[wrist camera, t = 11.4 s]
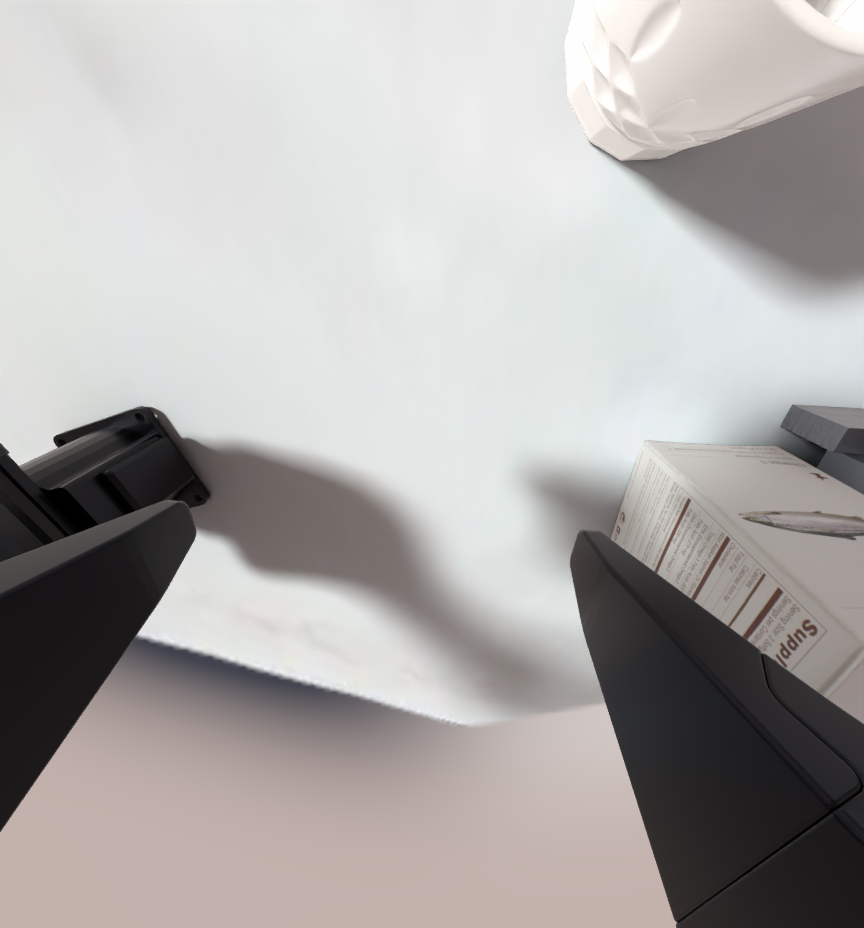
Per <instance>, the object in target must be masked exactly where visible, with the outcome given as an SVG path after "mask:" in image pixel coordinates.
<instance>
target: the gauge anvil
mask: <svg viewBox="0 0 864 928" xmlns="http://www.w3.org/2000/svg"><path fill="white" fill-rule="evenodd" d="M781 427H782V428H784V429H786V430H788V431H791V432H793V433H795V434H797V435H799V436H801V437H803V438H805V439H807V440H809V441H811V442H813V443H815V444H817V445H819V446H821V447H823V448H825V449H827V450H829V451H831V452H836V453H854V454H864V409H860V408H841V407H822V406H804V405H792V407H791V408H790V410H789V412H788V414H787V416H786V418H785V420H784V421H783V423H782V425H781Z"/></svg>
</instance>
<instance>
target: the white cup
mask: <svg viewBox="0 0 864 928" xmlns="http://www.w3.org/2000/svg"><path fill="white" fill-rule="evenodd" d="M564 46H565V62H566V78H567V94H568V102H569V104H570V106H571V108H572V110H573V112H574V114H575V116H576V118H577V120H578V122H579V124H580V126H581V128H582V129H583V131H584V133H585V135H586V137H587V139H588V141H589V142H591V143H593V144H594V145H596V146H598V147H599V148H601V149H603V150H604V151H606V152H607V153H609V154H611V155H612V156H614V157H616V158H617V159H619V160H621V161H627V160H647V159H662V158H665V157H667V156H670V155H672V154H675V153H677V152H679V151H682V150H684V149H686V148H691V147H695V146H699V145H703V144H707V143H710V142H714V141H717V140H720V139H722V138H725V137H727V136H730V135H733V134H735V133H738V132H741V131H744V130H748V129H751V128H754V127H757V126H760V125H763V124H766V123H768V122H771V121H773V120H776V119H779V118H781V117H784V116H786V115H789V114H792V113H794V112H797V111H799V110H802V109H805V108H807V107H810V106H812V105H815V104H818V103H820V102H823V101H825V100H828V99H831V98H833V97H836V96H838V95H841V94H844V93H846V92H849V91H851V90H854V89H857V88H859V87H862V86H864V0H576V2H575V5H574V9H573V13H572V17H571V21H570V25H569V29H568V32H567V36H566V40H565V45H564Z"/></svg>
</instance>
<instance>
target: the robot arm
mask: <svg viewBox="0 0 864 928" xmlns="http://www.w3.org/2000/svg"><path fill="white" fill-rule="evenodd" d="M140 414H142V415H143V417H144V418H143V417H142V416H141V415H140ZM53 440H54V443H55V444H56V446H57V447H58V448H57V449H55V450H53V451H50V452H48V453H46V454H44V455H42V456H40V457H38V458H35V459H33V460H31V461H29V462H27V463H25V464H22V465H20V466H18V465H17V464H16V463H15V462H14V461H13V460H12V459H11V458H10V456H9V455H8V453H9V452H8V450H7V449H6V448H5V447H4V446H3V445H2V444H1V443H0V832H1V830H2V829H3V827H4V826H5V825H6V823H7V822H8V820H9V819H10V817H11V816H12V814H13V813H14V811H15V810H16V808H17V807H18V806H19V804H20V803H21V801H22V800H23V799H24V797H25V796H26V794H27V793H28V791H29V790H30V788H31V787H32V786H33V784H34V782H35V781H36V780H37V778H38V777H39V775H40V774H41V772H42V771H43V770H44V768H45V767H46V765H47V764H48V762H49V761H50V759H51V758H52V757H53V755H54V754H55V752H56V751H57V749H58V748H59V746H60V745H61V744H62V742H63V741H64V739H65V738H66V736H67V735H68V733H69V732H70V730H71V729H72V728H73V726H74V725H75V723H76V722H77V720H78V719H79V717H80V716H81V715H82V713H83V712H84V710H85V709H86V707H87V706H88V705H89V703H90V701H91V700H92V699H93V697H94V696H95V694H96V693H97V692H98V690H99V689H100V687H101V686H102V684H103V683H104V681H105V680H106V678H107V677H108V676H109V674H110V673H111V671H112V670H113V668H114V667H115V665H116V664H117V663H118V661H119V660H120V658H121V657H122V655H123V654H124V652H125V651H126V650H127V648H128V647H129V645H130V644H131V642H132V641H133V639H134V638H135V637H136V635H137V634H138V632H139V631H140V629H141V628H142V626H143V625H144V624H145V622H146V621H147V619H148V618H149V616H150V615H151V613H152V612H153V611H154V609H155V608H156V606H157V605H158V603H159V602H160V600H161V598H162V597H163V595H164V593H165V592H166V590H167V588H168V587H169V585H170V583H171V581H172V579H173V578H174V576H175V574H176V572H177V570H178V569H179V567H180V565H181V563H182V561H183V560H184V558H185V556H186V554H187V553H188V551H189V549H190V547H191V545H192V544H193V542H194V540H195V537H196V528H195V525H194V522H193V519H192V516H191V513H190V510H189V508H191V507H195V506H199V505H203V504H205V503H206V502H207V501H208V500H209V499H210V494H209V492H208V490H207V489H206V488H205V486H204V485H203V483H202V482H201V481H200V479H199V478H198V476H197V475H196V474H195V472H194V471H193V469H192V468H191V467H190V465H189V464H188V462H187V461H186V459H185V458H184V457H183V455H182V454H181V452H180V451H179V450H178V448H177V447H176V445H175V444H174V443H173V441H172V440H171V438H170V437H169V436H168V434H167V433H166V431H165V430H164V428H163V427H162V426H161V424H160V423H159V421H158V420H157V419H156V417H155V416H154V414H153V413H152V412H151V411H150V410H149V409H148V408H146V407H143V406H140V407H136V408H133V409H131V410H128V411H125V412H122V413H119V414H116V415H113V416H110V417H107V418H104V419H101V420H98V421H95V422H92V423H89V424H87V425H84V426H81V427H78V428H75V429H72V430H69V431H66V432H63V433H61V434H58V435H56V436H55V437H54V439H53ZM199 495H200V496H201V497H200V496H199ZM570 567H571V573H572V578H573V583H574V588H575V593H576V598H577V603H578V608H579V613H580V619H581V623H582V628H583V632H584V635H585V639H586V642H587V645H588V649H589V652H590V655H591V658H592V661H593V664H594V667H595V671H596V674H597V677H598V680H599V683H600V686H601V690H602V693H603V696H604V699H605V702H606V705H607V709H608V712H609V715H610V718H611V721H612V724H613V727H614V731H615V734H616V737H617V740H618V743H619V746H620V750H621V752H622V756H623V759H624V762H625V765H626V769H627V771H628V775H629V778H630V781H631V784H632V788H633V791H634V794H635V797H636V800H637V803H638V807H639V810H640V813H641V816H642V819H643V822H644V825H645V829H646V832H647V835H648V838H649V841H650V844H651V848H652V851H653V854H654V857H655V860H656V863H657V866H658V869H659V873H660V876H661V879H662V882H663V886H664V888H665V892H666V895H667V898H668V901H669V904H670V908H671V911H672V914H673V917H674V919H675V921H676V922H677V924H676V928H864V724H863V723H862V722H860V721H859V720H858V719H856V718H855V717H853V716H852V715H850V714H849V713H847V712H846V711H844V710H843V709H841V708H840V707H839V706H837V705H836V704H834V703H833V702H831V701H830V700H828V699H827V698H826V697H824V696H823V695H821V694H820V693H819V692H817V691H816V690H814V689H813V688H812V687H810V686H809V685H808V684H806V683H805V682H803V681H802V680H801V679H799V678H798V677H796V676H795V675H794V674H792V673H791V672H790V671H788V670H787V669H785V668H784V667H783V666H781V665H780V664H779V663H777V662H776V661H775V660H773V659H772V658H771V657H769V656H768V655H767V654H765V653H761V651H760V650H759V649H758V648H757V647H756V646H754V645H753V644H752V643H750V642H749V641H748V640H746V639H745V638H743V637H742V636H741V635H739V634H738V633H737V632H735V631H734V630H733V629H731V628H730V627H729V626H727V625H726V624H725V623H723V622H722V621H721V620H719V619H718V618H716V617H715V616H714V615H712V614H711V613H710V612H708V611H707V610H706V609H704V608H703V607H702V606H700V605H699V604H698V603H696V602H695V601H694V600H692V599H691V598H689V597H688V596H687V595H685V594H684V593H683V592H681V591H680V590H679V589H677V588H676V587H675V586H673V585H672V584H671V583H669V582H668V581H667V580H665V579H664V578H662V577H661V576H660V575H658V574H657V573H656V572H654V571H653V570H652V569H650V568H649V567H648V566H646V565H645V564H644V563H642V562H641V561H639V560H638V559H637V558H635V557H634V556H633V555H631V554H630V553H629V552H627V551H626V550H625V549H623V548H622V547H621V546H619V545H618V544H617V543H615V542H614V541H612V540H611V539H610V538H608V537H607V536H606V535H604V534H603V533H602V532H600V531H596V530H581V531H579V533H578V535H577V538H576V541H575V545H574V548H573V551H572V554H571V558H570Z"/></svg>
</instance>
